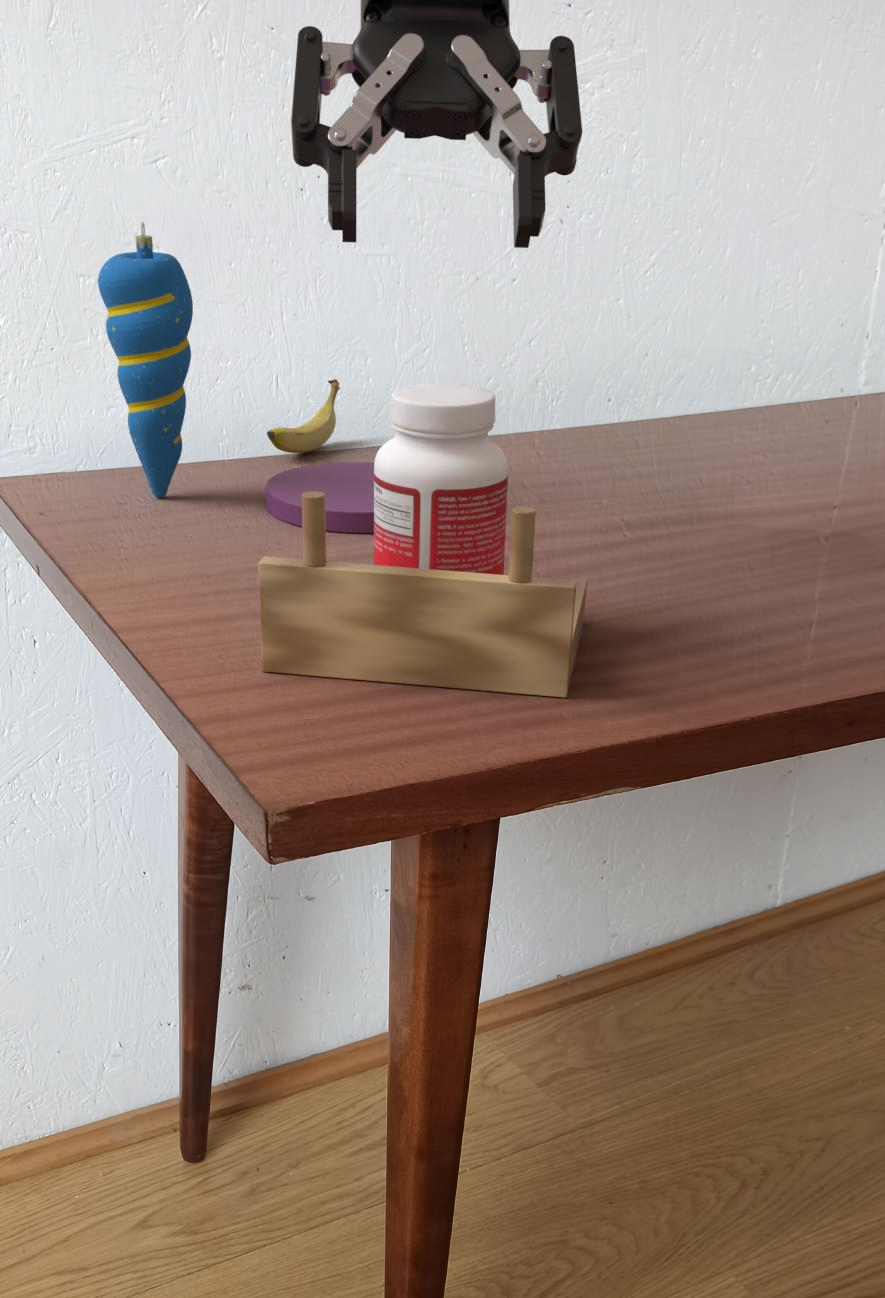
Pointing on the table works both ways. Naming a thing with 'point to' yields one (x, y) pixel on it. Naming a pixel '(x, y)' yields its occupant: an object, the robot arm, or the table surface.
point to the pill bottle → (441, 482)
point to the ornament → (150, 351)
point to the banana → (308, 429)
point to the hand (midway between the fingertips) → (437, 235)
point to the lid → (326, 495)
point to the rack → (420, 618)
